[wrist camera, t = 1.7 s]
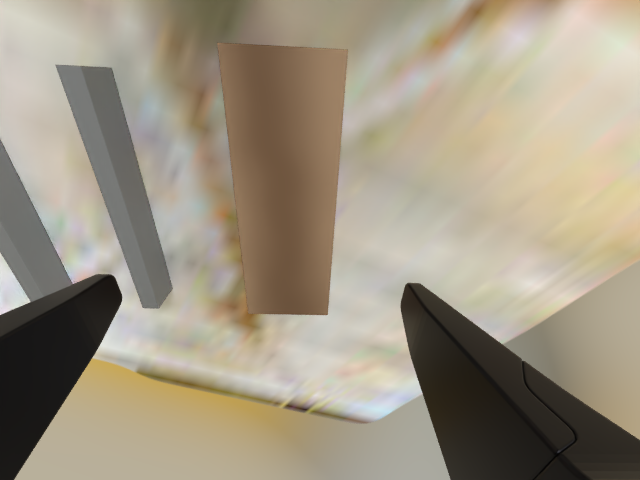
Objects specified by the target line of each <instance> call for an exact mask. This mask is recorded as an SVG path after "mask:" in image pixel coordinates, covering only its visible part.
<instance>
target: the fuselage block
mask: <svg viewBox="0 0 640 480" xmlns="http://www.w3.org/2000/svg"><path fill="white" fill-rule="evenodd" d="M217 45H218V53H219V62H220V71H221V80H222V88H223V97H224V106H225V115H226V123H227V132H228V141H229V150H230V158H231V167H232V176H233V185H234V193H235V202H236V211H237V219H238V228H239V237H240V246H241V254H242V263H243V272H244V281H245V289H246V298H247V307H248V314H296V315H328V303H329V290H330V277H331V264H332V251H333V238H334V224H335V211H336V198H337V185H338V172H339V159H340V146H341V133H342V120H343V106H344V93H345V80H346V67H347V54H348V50H344V49H326V48H307V47H288V46H269V45H251V44H232V43H217Z"/></svg>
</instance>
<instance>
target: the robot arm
mask: <svg viewBox="0 0 640 480" xmlns="http://www.w3.org/2000/svg"><path fill="white" fill-rule="evenodd" d="M121 302H122V294H121V291H120V289H119V286H118V284H117V281H116V279H115V277H114V276H113V275H110V274H97V275H94V276H92V277H89V278H87V279H84V280H82V281H80V282H77V283H75V284H73V285H70V286H68V287H66V288H63V289H61V290H58V291H56V292H54V293H51V294H49V295H47V296H44V297H42V298H40V299H37V300H35V301H32V302H30V303H28V304H25V305H23V306H21V307H18V308H16V309H14V310H11V311H9V312H6V313H4V314H2V315H0V480H14V479H15V477H16V476H17V474H18V473H19V471H20V470H21V468H22V466H23V465H24V463H25V462H26V460H27V459H28V457H29V456H30V454H31V452H32V451H33V449H34V448H35V446H36V445H37V443H38V441H39V440H40V438H41V437H42V435H43V434H44V432H45V431H46V429H47V427H48V426H49V424H50V423H51V421H52V420H53V418H54V417H55V415H56V414H57V412H58V410H59V409H60V407H61V406H62V404H63V403H64V401H65V399H66V398H67V396H68V395H69V393H70V392H71V390H72V388H73V387H74V385H75V384H76V382H77V381H78V379H79V378H80V376H81V375H82V372H83V371H84V370H85V368H86V367H87V365H88V364H89V362H90V360H91V359H92V357H93V356H94V354H95V352H96V351H97V349H98V347H99V346H100V344H101V342H102V340H103V338H104V336H105V334H106V332H107V330H108V328H109V326H110V324H111V322H112V320H113V318H114V316H115V315H116V313H117V311H118V309H119V307H120V305H121ZM401 313H402V318H403V323H404V328H405V333H406V337H407V342H408V347H409V352H410V356H411V359H412V362H413V365H414V368H415V371H416V375H417V378H418V381H419V384H420V387H421V390H422V393H423V396H424V399H425V402H426V405H427V408H428V411H429V414H430V417H431V421H432V424H433V427H434V430H435V433H436V436H437V439H438V442H439V445H440V448H441V451H442V454H443V457H444V460H445V464H446V466H447V469H448V473H449V476H450V479H451V480H640V440H639V439H637V438H636V437H634V436H633V435H631V434H630V433H628V432H627V431H625V430H624V429H622V428H621V427H619V426H618V425H616V424H615V423H613V422H612V421H610V420H609V419H607V418H606V417H604V416H603V415H601V414H600V413H598V412H596V411H595V410H593V409H592V408H591V407H589V406H588V405H586V404H584V403H583V402H582V401H580V400H579V399H577V398H576V397H574V396H573V395H571V394H570V393H568V392H567V391H565V390H564V389H562V388H561V387H560V386H558V385H557V384H555V383H554V382H553V381H551V380H550V379H548V378H547V377H546V376H544V375H543V374H542V373H540V372H539V371H537V370H536V369H535V368H533V367H532V366H531V365H529V364H528V363H527V362H525V361H522V359H521V358H520V357H518V356H517V355H516V354H514V353H513V352H511V351H510V350H509V349H508V348H506V347H505V346H504V345H502V344H501V343H500V342H498V341H497V340H496V339H494V338H493V337H492V336H490V335H489V334H487V333H486V332H485V331H483V330H482V329H481V328H479V327H478V326H477V325H475V324H474V323H473V322H471V321H470V320H469V319H467V318H466V317H465V316H463V315H462V314H461V313H459V312H458V311H456V310H455V309H454V308H452V307H451V306H450V305H448V304H447V303H446V302H444V301H443V300H442V299H440V298H439V297H438V296H436V295H435V294H434V293H432V292H431V291H430V290H428V289H427V288H425V287H424V286H423V285H421V284H419V283H407V284H406V285H405V288H404V292H403V296H402V300H401Z"/></svg>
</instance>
